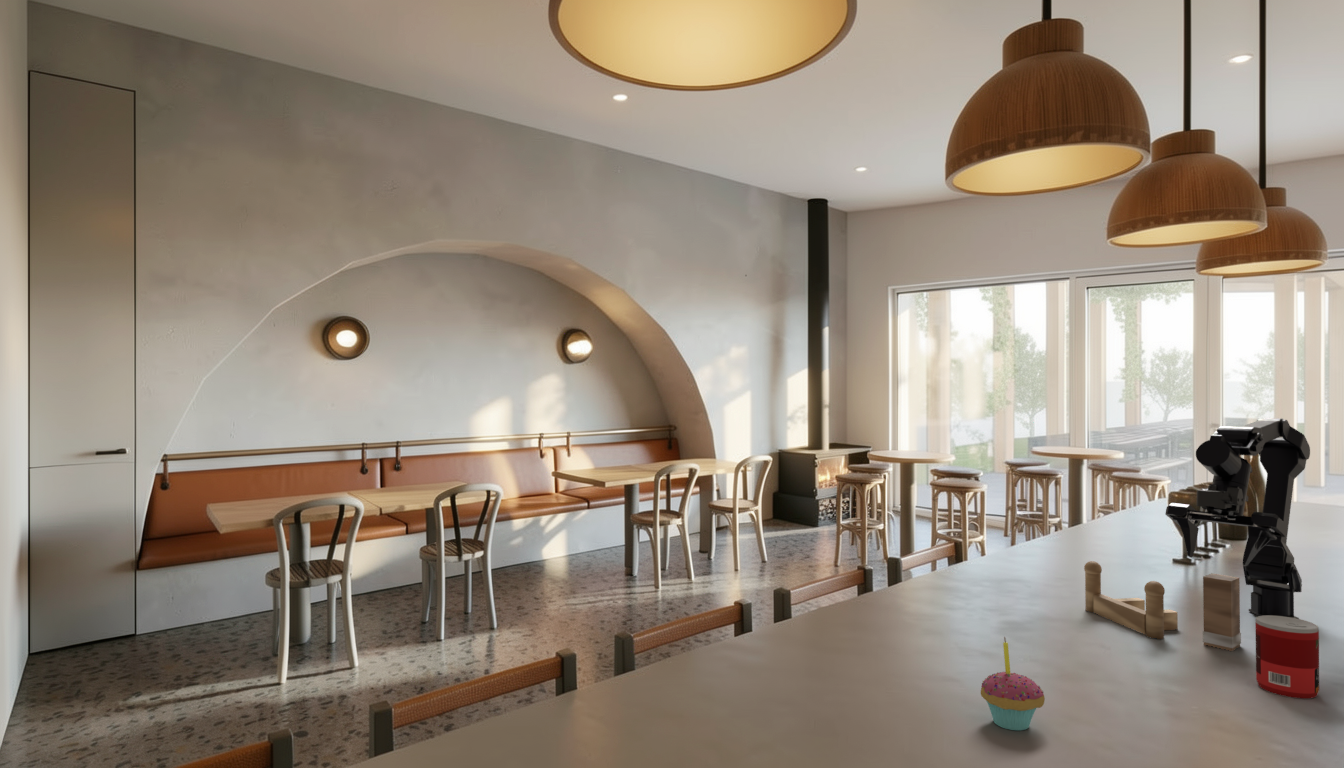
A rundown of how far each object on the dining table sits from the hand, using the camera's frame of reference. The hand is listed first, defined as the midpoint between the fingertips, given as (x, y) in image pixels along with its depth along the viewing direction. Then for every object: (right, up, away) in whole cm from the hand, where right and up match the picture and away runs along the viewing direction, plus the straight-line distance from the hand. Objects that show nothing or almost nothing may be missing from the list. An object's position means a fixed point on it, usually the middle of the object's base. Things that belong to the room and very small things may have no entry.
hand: (1216, 561), depth 148 cm
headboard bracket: (-8, -16, +12) cm, 21 cm away
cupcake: (-56, -15, -37) cm, 69 cm away
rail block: (-1, -15, -3) cm, 16 cm away
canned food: (-6, -15, -24) cm, 29 cm away
